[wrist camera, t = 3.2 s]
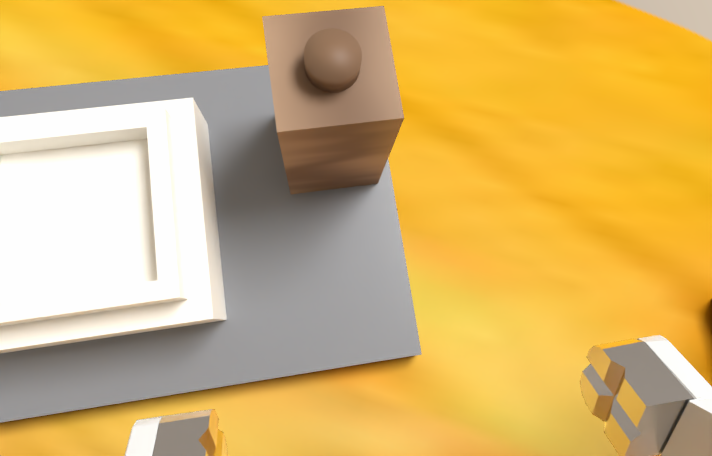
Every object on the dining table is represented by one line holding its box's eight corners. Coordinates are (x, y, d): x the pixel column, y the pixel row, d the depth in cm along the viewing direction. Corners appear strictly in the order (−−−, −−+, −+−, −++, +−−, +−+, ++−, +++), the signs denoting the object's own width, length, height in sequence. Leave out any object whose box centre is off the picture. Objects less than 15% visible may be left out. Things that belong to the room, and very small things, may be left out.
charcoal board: (-4, 421, 22) (-19, 425, 22) (-7, 102, 26) (-20, 93, 25) (417, 353, 24) (421, 354, 24) (368, 65, 28) (370, 55, 27)
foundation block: (4, 352, 22) (-68, 358, 18) (2, 146, 24) (-64, 109, 20) (226, 319, 23) (206, 318, 19) (207, 124, 25) (185, 84, 21)
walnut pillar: (290, 194, 25) (274, 122, 16) (279, 112, 26) (259, 1, 17) (377, 183, 25) (407, 107, 16) (364, 103, 26) (386, -9, 17)
